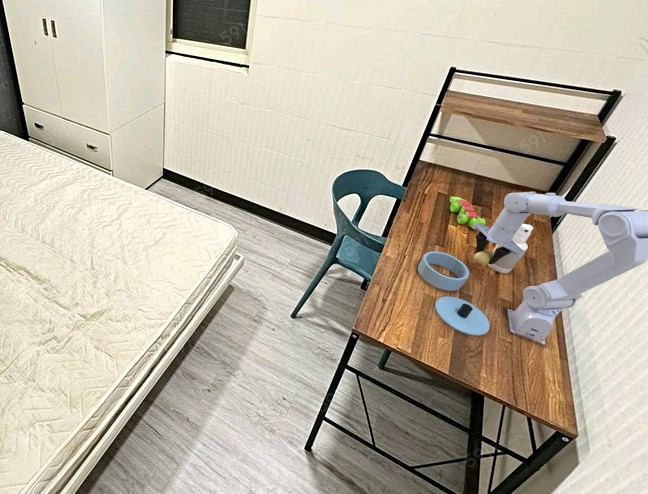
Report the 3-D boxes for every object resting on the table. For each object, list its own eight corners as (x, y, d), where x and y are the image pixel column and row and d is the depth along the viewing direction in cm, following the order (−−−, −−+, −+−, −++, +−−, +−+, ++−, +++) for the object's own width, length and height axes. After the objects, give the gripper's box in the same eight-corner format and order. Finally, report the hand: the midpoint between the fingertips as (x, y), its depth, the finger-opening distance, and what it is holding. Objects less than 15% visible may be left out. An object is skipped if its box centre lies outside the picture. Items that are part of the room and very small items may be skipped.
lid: (489, 345, 113) (497, 335, 111) (433, 322, 119) (439, 312, 117) (486, 311, 123) (494, 301, 120) (435, 292, 129) (441, 282, 126)
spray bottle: (487, 269, 137) (515, 228, 127) (484, 256, 142) (511, 216, 132) (512, 276, 135) (542, 235, 125) (508, 263, 140) (537, 223, 130)
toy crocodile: (444, 201, 169) (450, 189, 166) (461, 204, 168) (468, 192, 165) (463, 232, 153) (471, 219, 150) (483, 235, 152) (491, 222, 149)
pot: (461, 297, 127) (469, 286, 124) (415, 280, 132) (422, 269, 129) (461, 272, 136) (468, 261, 133) (418, 257, 141) (425, 246, 138)
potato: (480, 268, 129) (486, 259, 127) (468, 259, 132) (474, 250, 130) (496, 263, 131) (502, 254, 129) (484, 254, 135) (490, 245, 132)
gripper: (474, 214, 128) (454, 246, 136) (522, 244, 117) (498, 277, 124) (489, 210, 130) (469, 241, 138) (538, 239, 119) (514, 271, 126)
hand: (484, 258), depth 131 cm, fingers closed on potato, 4 cm apart
